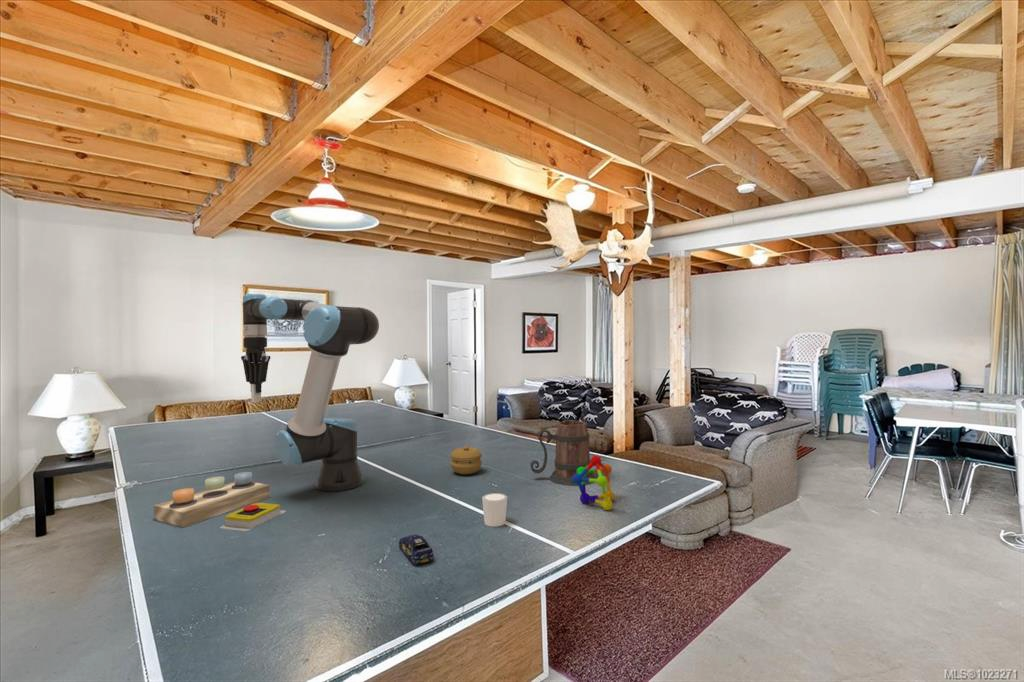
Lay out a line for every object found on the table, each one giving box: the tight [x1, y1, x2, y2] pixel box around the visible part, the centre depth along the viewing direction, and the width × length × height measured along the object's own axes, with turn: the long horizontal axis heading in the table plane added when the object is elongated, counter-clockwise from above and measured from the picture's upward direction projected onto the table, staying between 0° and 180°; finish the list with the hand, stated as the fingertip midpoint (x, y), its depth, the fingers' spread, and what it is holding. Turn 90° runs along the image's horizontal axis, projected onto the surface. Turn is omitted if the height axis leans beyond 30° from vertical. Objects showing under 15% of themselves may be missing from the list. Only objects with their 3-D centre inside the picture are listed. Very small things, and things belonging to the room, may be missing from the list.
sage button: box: [204, 475, 226, 490], centre depth 142 cm, size 5×5×3 cm
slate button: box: [233, 471, 253, 485], centre depth 150 cm, size 5×5×3 cm
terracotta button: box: [172, 487, 195, 503], centre depth 133 cm, size 5×5×3 cm
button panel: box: [153, 481, 271, 528], centre depth 142 cm, size 14×26×4 cm, turn 154°
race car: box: [398, 533, 435, 565], centre depth 110 cm, size 15×7×4 cm, turn 36°
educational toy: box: [572, 455, 615, 511], centre depth 140 cm, size 16×13×15 cm
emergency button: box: [219, 502, 286, 532], centre depth 132 cm, size 9×4×15 cm
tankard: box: [529, 419, 598, 487], centre depth 166 cm, size 24×17×20 cm
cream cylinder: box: [481, 492, 508, 528], centre depth 127 cm, size 7×7×7 cm
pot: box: [450, 445, 483, 475], centre depth 176 cm, size 12×12×10 cm
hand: (256, 401), depth 169 cm, fingers closed
